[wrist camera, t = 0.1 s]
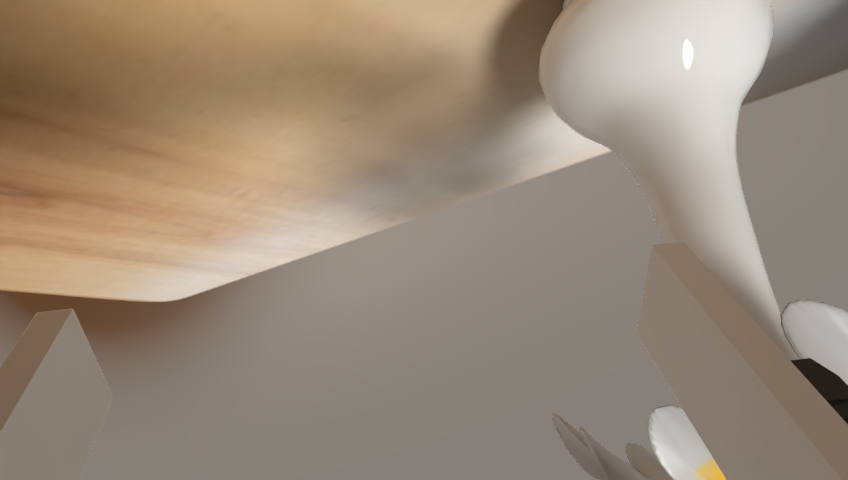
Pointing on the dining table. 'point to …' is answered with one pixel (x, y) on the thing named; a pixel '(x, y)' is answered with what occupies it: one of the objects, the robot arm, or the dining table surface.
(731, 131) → the flower vase
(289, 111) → the dining table surface
